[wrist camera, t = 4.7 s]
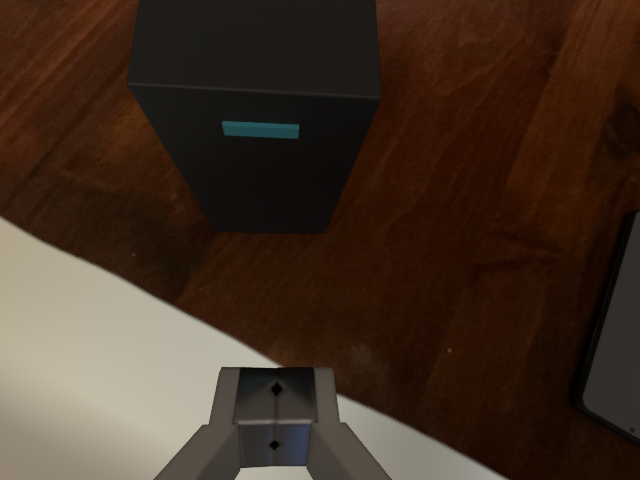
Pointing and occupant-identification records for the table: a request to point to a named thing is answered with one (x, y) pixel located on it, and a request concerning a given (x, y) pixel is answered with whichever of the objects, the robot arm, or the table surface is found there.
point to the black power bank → (259, 102)
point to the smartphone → (616, 345)
